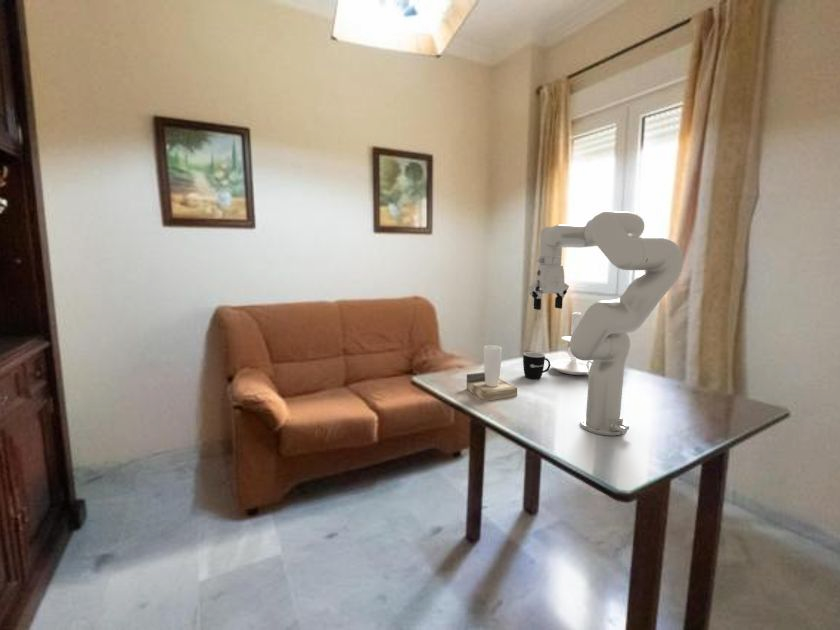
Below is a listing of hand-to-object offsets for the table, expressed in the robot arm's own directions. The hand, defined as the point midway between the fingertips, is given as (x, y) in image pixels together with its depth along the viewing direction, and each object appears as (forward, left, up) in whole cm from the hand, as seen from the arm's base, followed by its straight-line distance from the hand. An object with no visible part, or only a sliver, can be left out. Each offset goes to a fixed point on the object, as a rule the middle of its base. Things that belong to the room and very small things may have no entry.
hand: (547, 308), depth 149 cm
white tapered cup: (+10, +17, -30) cm, 36 cm away
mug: (+20, -12, -33) cm, 41 cm away
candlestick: (+18, -32, -33) cm, 50 cm away
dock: (+10, +17, -33) cm, 38 cm away
